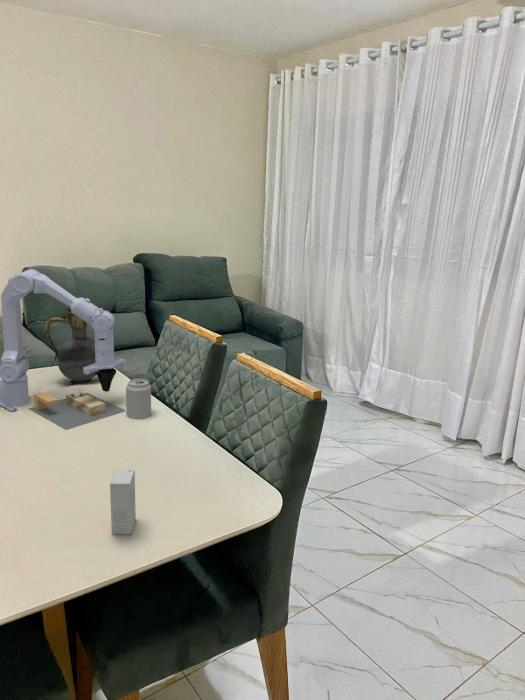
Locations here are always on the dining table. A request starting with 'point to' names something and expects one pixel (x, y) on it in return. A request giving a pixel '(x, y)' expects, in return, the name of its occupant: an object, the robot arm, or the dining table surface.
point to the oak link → (86, 404)
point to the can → (138, 399)
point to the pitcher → (74, 350)
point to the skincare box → (123, 501)
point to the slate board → (68, 410)
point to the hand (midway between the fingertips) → (105, 390)
